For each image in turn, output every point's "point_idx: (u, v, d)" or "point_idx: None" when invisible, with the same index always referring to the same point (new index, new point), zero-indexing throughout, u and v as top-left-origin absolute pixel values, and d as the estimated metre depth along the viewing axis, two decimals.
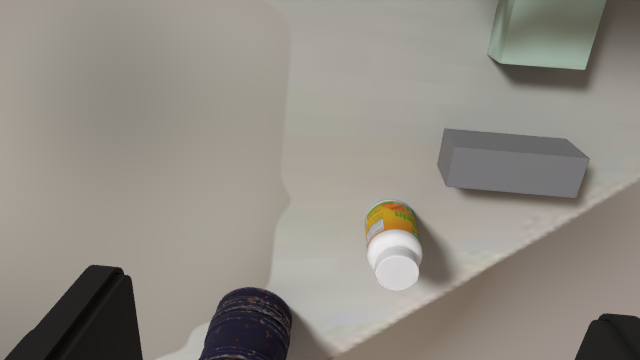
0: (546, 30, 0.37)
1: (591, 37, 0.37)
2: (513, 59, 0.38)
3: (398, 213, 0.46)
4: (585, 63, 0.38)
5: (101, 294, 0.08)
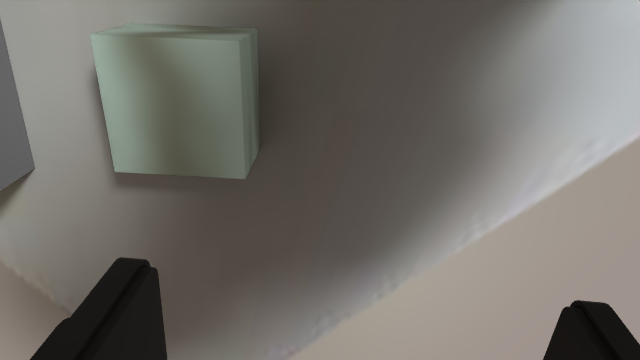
0: (159, 101, 0.22)
1: (161, 169, 0.24)
2: (102, 57, 0.21)
3: None
4: (123, 170, 0.24)
5: (131, 285, 0.08)
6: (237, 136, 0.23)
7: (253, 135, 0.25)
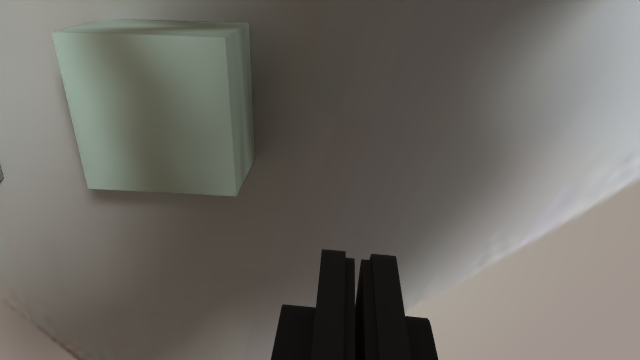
0: (134, 108, 0.19)
1: (141, 186, 0.21)
2: (67, 58, 0.18)
3: None
4: (98, 187, 0.21)
5: (347, 274, 0.09)
6: (226, 148, 0.20)
7: (246, 145, 0.22)
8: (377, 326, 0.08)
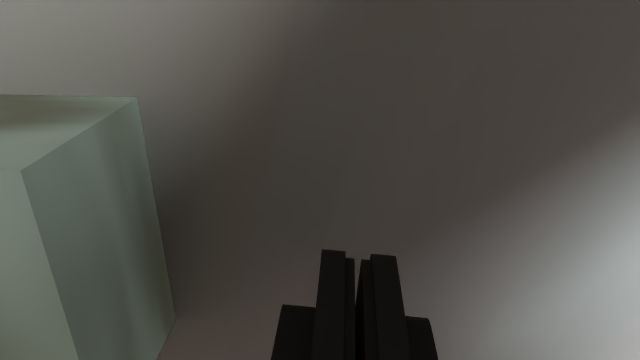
0: None
1: None
2: None
3: None
4: None
5: (347, 274, 0.09)
6: None
7: (142, 325, 0.12)
8: (377, 326, 0.08)
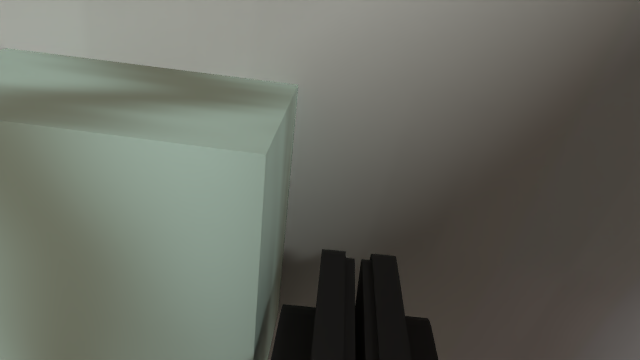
0: (32, 279, 0.08)
1: None
2: None
3: None
4: None
5: (347, 274, 0.09)
6: None
7: (270, 317, 0.11)
8: (377, 326, 0.08)
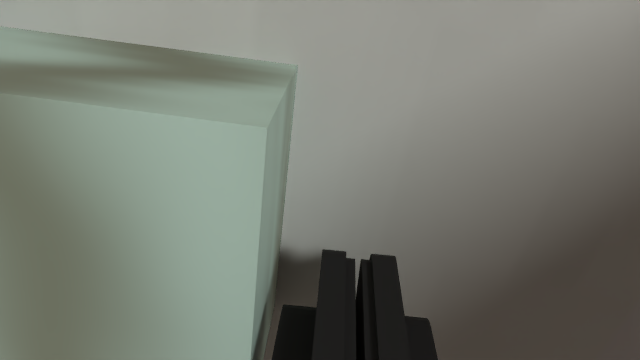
0: (11, 267, 0.08)
1: None
2: None
3: None
4: None
5: (348, 274, 0.09)
6: None
7: (267, 311, 0.11)
8: (377, 326, 0.08)
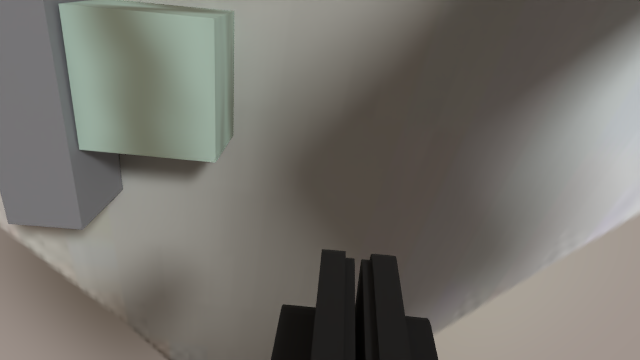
0: (128, 77, 0.22)
1: (129, 148, 0.23)
2: (71, 27, 0.21)
3: None
4: (89, 148, 0.23)
5: (347, 274, 0.09)
6: (209, 117, 0.22)
7: (226, 119, 0.25)
8: (377, 326, 0.08)
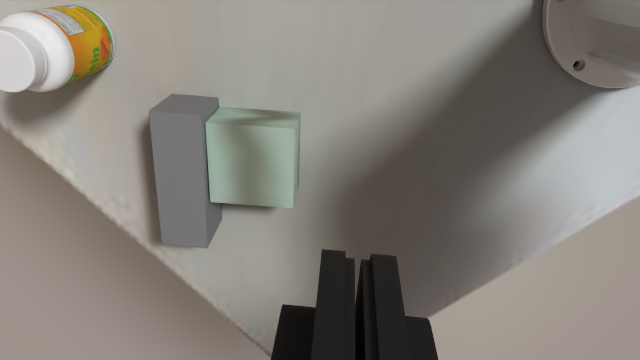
0: (243, 161, 0.36)
1: (240, 201, 0.38)
2: (211, 135, 0.36)
3: (97, 52, 0.35)
4: (216, 201, 0.38)
5: (347, 274, 0.09)
6: (290, 182, 0.37)
7: (296, 179, 0.40)
8: (377, 326, 0.08)
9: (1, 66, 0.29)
